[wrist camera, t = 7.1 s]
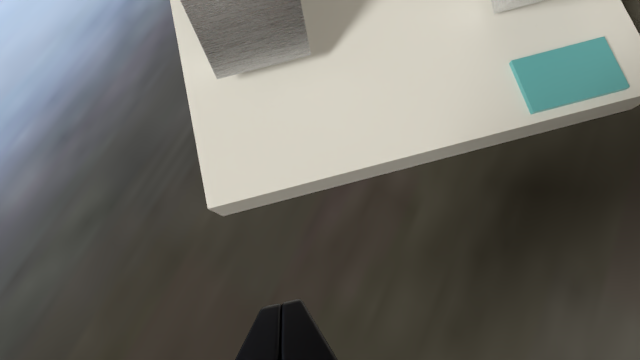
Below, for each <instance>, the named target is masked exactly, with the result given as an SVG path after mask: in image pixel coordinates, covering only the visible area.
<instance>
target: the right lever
mask: <svg viewBox="0 0 640 360" xmlns="http://www.w3.org/2000/svg"><path fill="white" fill-rule="evenodd" d="M541 1H545V0H491V2H492V7H493V12H494V14H495V13H499V12H503V11H506V10H510V9H514V8H518V7H522V6H526V5H530V4H533V3H537V2H541Z"/></svg>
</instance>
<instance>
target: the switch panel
mask: <svg viewBox="0 0 640 360" xmlns="http://www.w3.org/2000/svg"><path fill="white" fill-rule="evenodd" d="M300 1H301V6H302V11H303V16H304V21H305V26H306V32H307V37H308V42H309V47H310V52H311V55H309V56H305V57H301V58H297V59H293V60H290V61H286V62H282V63H278V64H274V65H270V66H266V67H263V68H259V69H255V70H251V71H247V72H243V73H240V74H236V75H232V76H228V77H224V78H220V79H217V78H216V76H215V74H214V72H213V69H212V67H211V65H210V63H209V61H208V59H207V57H206V54H205V52H204V50H203V48H202V46H201V44H200V42H199V39H198V37H197V35H196V33H195V31H194V29H193V27H192V24H191V22H190V20H189V18H188V16H187V14H186V12H185V9H184V7H183V5H182V3H181V1H180V0H170V2H171V8H172V13H173V19H174V24H175V30H176V35H177V41H178V47H179V52H180V58H181V63H182V69H183V74H184V80H185V85H186V91H187V96H188V102H189V107H190V113H191V118H192V124H193V129H194V135H195V140H196V146H197V151H198V157H199V163H200V168H201V174H202V179H203V185H204V190H205V196H206V201H207V207H208V209H209V210H211V211H213V212H216V213H218V214H220V215H222V216H226V215H229V214H233V213H237V212H241V211H245V210H248V209H252V208H256V207H260V206H264V205H268V204H271V203H275V202H279V201H283V200H287V199H290V198H294V197H298V196H302V195H306V194H310V193H313V192H317V191H321V190H325V189H329V188H333V187H336V186H340V185H344V184H348V183H352V182H355V181H359V180H363V179H367V178H371V177H375V176H378V175H382V174H386V173H390V172H394V171H398V170H401V169H405V168H409V167H413V166H417V165H420V164H424V163H428V162H432V161H436V160H440V159H443V158H447V157H451V156H455V155H459V154H462V153H466V152H470V151H474V150H478V149H482V148H485V147H489V146H493V145H497V144H501V143H505V142H508V141H512V140H516V139H520V138H524V137H527V136H531V135H535V134H539V133H543V132H547V131H550V130H554V129H558V128H562V127H566V126H569V125H573V124H577V123H581V122H585V121H589V120H592V119H596V118H600V117H604V116H608V115H612V114H615V113H619V112H623V111H627V110H631V109H633V108H635V107H636V106H638V105H640V35H639V33H638V31H637V29H636V28H635V26H634V24H633V22H632V20H631V18H630V16H629V15H628V13H627V11H626V9H625V7H624V5H623V3H622V2H621V0H545V1H541V2H537V3H533V4H530V5H526V6H522V7H518V8H514V9H510V10H506V11H503V12H499V13H495V14H494V12H493V7H492V2H491V0H300Z"/></svg>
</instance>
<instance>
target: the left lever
mask: <svg viewBox="0 0 640 360" xmlns="http://www.w3.org/2000/svg"><path fill="white" fill-rule="evenodd" d="M180 1H181V3H182V5H183V7H184V9H185V12H186V14H187V16H188V18H189V20H190V22H191V24H192V27H193V29H194V31H195V33H196V35H197V37H198V39H199V42H200V44H201V46H202V48H203V50H204V52H205V54H206V57H207V59H208V61H209V63H210V65H211V67H212V69H213V72H214V74H215V76H216V78H217V79H220V78H224V77H228V76H232V75H236V74H240V73H243V72H247V71H251V70H255V69H259V68H263V67H266V66H270V65H274V64H278V63H282V62H286V61H290V60H293V59H297V58H301V57H305V56H309V55H311V52H310V47H309V42H308V37H307V32H306V26H305V21H304V16H303V11H302V6H301V1H300V0H180Z"/></svg>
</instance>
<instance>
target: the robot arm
mask: <svg viewBox="0 0 640 360" xmlns="http://www.w3.org/2000/svg"><path fill="white" fill-rule="evenodd" d="M235 360H337V358H336V356H335V355H334V353H333V351H332V350H331V348H330V346H329V345H328V343H327V341H326V340H325V338H324V336H323V335H322V333H321V331H320V330H319V328H318V326H317V325H316V323H315V321H314V320H313V318H312V316H311V315H310V313H309V311H308V310H307V308H306V306H305V305H304V303H303V301H302V300H301V299H297V300H292V301H288V302H284V303H283V304H282V305H281V304H274V305H270V306H266V307H263V308H262V309H261V310H260V312H259V314H258V316H257V318H256V320H255V322H254V324H253V326H252V328H251V330H250V332H249V334H248V335H247V337H246V339H245V341H244V343H243V345H242V347H241V349H240V351H239V353H238V355H237V357H236V359H235Z"/></svg>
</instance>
